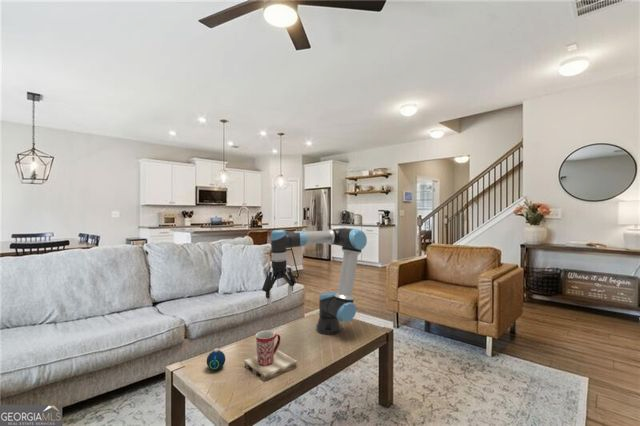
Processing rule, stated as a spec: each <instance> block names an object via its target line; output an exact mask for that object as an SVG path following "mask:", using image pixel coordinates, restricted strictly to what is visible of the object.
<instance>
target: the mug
mask: <svg viewBox="0 0 640 426" xmlns="http://www.w3.org/2000/svg"><path fill="white" fill-rule="evenodd" d="M276 338H277V342H276V343H275V340H276ZM255 339H256V340H255V342H256V354H257V355H256V356H257V358H258V364H259V365H260V366H268V365H271V364H272V363H273V356H274V354H275V352H276V350H278V348H279V346H280V343H281V336H280V334H278V333H275V332H274V331H272V330H262V331H259V332H257V333H256V334H255Z"/></svg>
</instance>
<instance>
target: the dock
mask: <svg viewBox="0 0 640 426" xmlns="http://www.w3.org/2000/svg"><path fill="white" fill-rule="evenodd" d="M297 364H298V360H296V359H294V358H293V357H291V356H289V355H287V354H285V353H284V352H282V351H280V350H279V349H277V350H276V352H275V354H274V356H273V363H272V364H271V365H268V366H260V365H259V364H258V358H257V355H253V356H251V357H249V358H246V359H244V367H245V368H246V369H248V370H249V369H252V373H253V374H254V375H255V376H257V375H260V379H261V380H262V381H263V382H266V381H268V380H270V379H273V378H276V377H278V376H280V375H282V374H284V373H286V372H289V371H290V370H293V369H295V368H297Z"/></svg>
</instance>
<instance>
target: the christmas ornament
mask: <svg viewBox="0 0 640 426" xmlns="http://www.w3.org/2000/svg"><path fill="white" fill-rule="evenodd" d="M225 362H226V354H225V353H224V352H223V351H222V350H219V348H218V347H217V348H216V347H215V348H214V349H213V351H211V352H209V354H208V355H207V357H206V366H207V367H208V368H209V369H210V370H213V371H217V370H219V369H222V367H223V366H224V365H225Z"/></svg>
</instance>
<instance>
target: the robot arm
mask: <svg viewBox="0 0 640 426" xmlns="http://www.w3.org/2000/svg"><path fill="white" fill-rule="evenodd" d="M367 239H368V238H367V235H366V234H365V232H364V231H363V230H361V229H358V228H348V227H347V228H346V227H341V228H336V229H335V228H331V229H330V228H329V229H327V230H294V231H291V230H288V231H286V230H285V229H275V230H271V234H270V244H271V245H270V248H271V260H272V261H271V270H272V271H266V277H265V279H264V283H263V286H262V288H261V291H263V292H265V298H266V304H267V305H269V306H272V303H273V302H272V291H271V290H272V289H273V286H274V285H275V283H276V281H277V280H279V279H284V280H285V282H286V283H287V284H288V285H287V298H288V299H291V300H292V299H293V291H294V286H295V284H297V280H296V279H295V276H294V275H293V272H292V268H291V267H287V249H289V248H298V247H299V248H300V247H305V246H306V245H307V244H308V245H313V244H315V245H316V244H328V245H333V246H339V247H341V251H342V252H343V255H342V256H343V257H342V261H341V262H342V263H341V268H340V274H339V275H340V276H339V279H338V285H337V286H338V287H337V288H338V289H337V292H336V291H335V292H331V291H330V292H329V291H328V292H322V293H321V294H319V296H318V297H319V299H318V303H319V307H318V308H319V312H318V314H319V315H318V316H319V318H318V320H317V324H316V327H315V328H316V332H317V333H320V334H322V335H336V334H338V333H340V332H341V330H342V328H341V323H340V322H342V323H343V322H344V323H348V322H350V321H352V320H353V319H354V317H355V316H356V313H357V307H356V305H355V303H354V300H355V299H354V297H353V290H354V289H353V288H354V283H355V278H356V277H355V276H356V269H357V263H358V259H359V258H358V257H359V255H360V254H361V253H362V250H363V249H365V247H366V245H367V242H368V240H367Z"/></svg>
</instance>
